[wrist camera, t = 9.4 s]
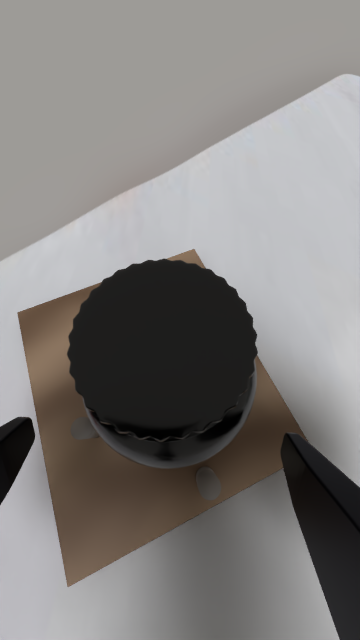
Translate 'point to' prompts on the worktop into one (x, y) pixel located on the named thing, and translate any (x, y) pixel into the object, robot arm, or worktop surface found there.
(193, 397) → the supplement bottle
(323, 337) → the worktop surface
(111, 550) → the plate
